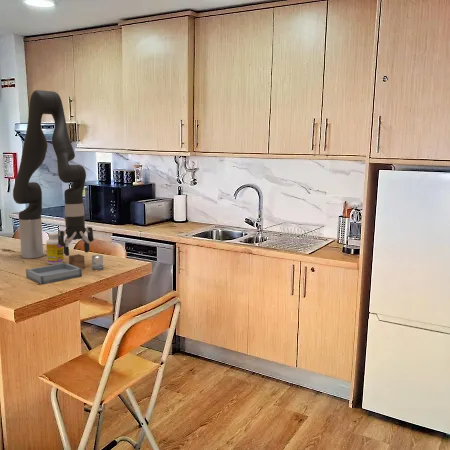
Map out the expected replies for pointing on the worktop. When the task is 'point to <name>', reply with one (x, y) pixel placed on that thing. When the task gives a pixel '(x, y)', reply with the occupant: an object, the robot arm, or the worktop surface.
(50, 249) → the supplement bottle
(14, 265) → the worktop surface
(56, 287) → the worktop surface
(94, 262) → the grey rounded cylinder
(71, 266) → the parts tray
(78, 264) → the walnut block
